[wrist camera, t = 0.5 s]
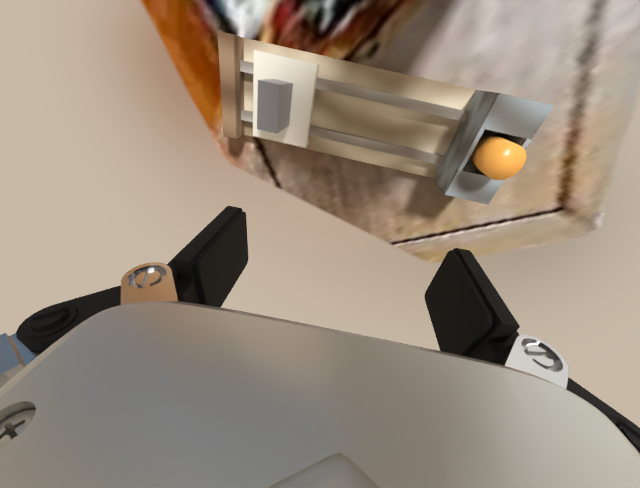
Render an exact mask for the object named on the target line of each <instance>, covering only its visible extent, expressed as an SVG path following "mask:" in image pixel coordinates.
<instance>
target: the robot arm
mask: <svg viewBox="0 0 640 488" xmlns="http://www.w3.org/2000/svg"><path fill="white" fill-rule="evenodd" d="M247 262H248V245H247V226H246V213H245V212H242V209H241V208H237V207H232V206H227V207H226V208H225V209H224V210H223V211H222V212H221V213H220V214H219V215H218V216H217V217H216V218H215V219H214V220H213V221H212V222H211V223H210V224H208V225H207V226H206V227H205V228H204V229H203V230H202V231H201V232H200V233H199V234H198V235H197V236H196V237H195V238H194V239H193V240H192V241H191V242H190V243H189V244H188V245H187V246H186V247H185V248H183V249H182V250H181V251H180V252H179V253H178V254H177V255H176V256H175V257H174V258H173V259H172V260H171V261H170V262H169V263H168V264H167V265H166V264H163V263H155V262H154V263H146V264H143V265H140V266H137V267H135V268H133V269H131V270H130V271H128V272H127V273H126V274H125V275H124V276H123V278H122V281H121V286H117V287H114V288H110V289H107V290H104V291H100V292H96V293H93V294H90V295H86V296H83V297H79V298H76V299H73V300H69V301H66V302H62V303H59V304H55V305H52V306H49V307H47V308H44V309H42V310H40V311H38V312H36V313H34V314H33V315H31V316H30V317H29V318H27V319H26V320H25V321H24V322H23V323H22V324H21V325H20V326H19V328H18V330H17V332H16V333H15V334H13V335H11V336H8V335H7V334H6V333H4V334H2V335H0V488H640V428H639V427H638V426H637V425H635V424H634V423H632V422H631V421H630V420H628V419H627V418H625V417H624V416H622V415H621V414H620V413H618V412H617V411H616V410H614V409H613V408H611V407H610V406H608V405H607V404H606V403H604V402H603V401H601V400H600V399H598V398H597V397H596V396H594V395H593V394H591V393H590V392H589V391H587V390H586V389H584V388H583V387H581V386H580V385H579V384H577V383H576V382H574V381H573V380H571V379H570V378H569V377H568V376H569V367H568V365H567V363H566V361H565V359H564V358H563V357H562V356H561V354H560V353H559V352H558V351H557V350H555V349H554V348H553V347H552V346H551V345H549V344H548V343H546V342H545V341H543V340H541V339H539V338H537V337H534V336H531V335H526V334H523V335H519V334H518V332H517V331H516V330H517V329H518V328H519V327H520V326H519V325H518V323H517V321H516V320H515V319H514V317H513V315H512V314H511V312H510V311H509V309H508V308H507V306H506V305H505V303H504V302H503V300H502V299H501V297H500V296H499V294H498V292H497V291H496V289H495V288H494V286H493V285H492V283H491V282H490V280H489V279H488V277H487V276H486V274H485V273H484V271H483V269H482V268H481V266H480V265H479V263H478V262H477V260H476V259H475V257H474V256H473V254H472V253H471V252H470V251H469V250H464V249H458V248H455V249H453V250H452V251H449V252H448V253H447V255H446V257H445V258H444V260H443V262H442V264H441V266H440V267H439V269H438V271H437V273H436V275H435V276H434V278H433V280H432V282H431V284H430V285H429V287H428V289H427V290H426V293H425V301H426V305H427V308H428V311H429V314H430V318H431V321H432V324H433V327H434V331H435V334H436V338H437V341H438V344H439V347H440V350H441V351H437V350H432V349H427V348H423V347H418V346H413V345H408V344H403V343H398V342H393V341H389V340H383V339H379V338H373V337H369V336H363V335H359V334H353V333H349V332H344V331H339V330H334V329H329V328H323V327H319V326H314V325H308V324H304V323H299V322H293V321H288V320H283V319H278V318H273V317H267V316H262V315H257V314H252V313H247V312H242V311H236V310H230V309H225V308H220V307H221V306H222V304H223V302H224V301H225V299H226V297H227V296H228V294H229V293H230V291H231V289H232V288H233V286H234V284H235V282H236V281H237V279H238V278H239V276H240V274H241V273H242V271H243V270H244V268H245V266H246V264H247Z"/></svg>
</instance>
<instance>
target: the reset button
mask: <svg viewBox="0 0 640 488" xmlns="http://www.w3.org/2000/svg"><path fill="white" fill-rule="evenodd" d="M469 160H470V162H471V163H472V164H473V165H474V166H475V167H477V168H478V169H479V170H480V171H481V172H483V173H484V174H485V175H486V176H488V177H489V178H491V179H493V180H504V179H507V178H510V177H512V176H513V175H515V174H516V173H517V172H518V171H519V170H520V169H521V168H522V167H523V165H524V163H525V161H526V151H525V149H524V148H523V147H522V146H520V145H518V144H515V143H513V142H511V141H509V140H506V139H504V138H502V137H500V136H497V135H486V136H484V137H482V138H480V139H479V141H478V143H477V145H476V146H475V148H474V150H473V152H472V154H471V156H470V157H469Z"/></svg>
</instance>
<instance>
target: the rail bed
mask: <svg viewBox="0 0 640 488" xmlns="http://www.w3.org/2000/svg"><path fill="white" fill-rule="evenodd" d="M218 47H219V64H220V82H221V99H222V116H223V133H224V136H226V137H230V138H234V139H238V138H240V137H241V136H243V135H247V136H251V137H256V136H253V71H254V50H257V51H262V52H266V53H270V54H275V55H279V56H284V57H288V58H293V59H297V60H301V61H306V62H310V63H315V64H319V65H320V68H319V70H318V74H317V81H316V88H315V95H314V102H313V109H312V117H311V124H310V131H309V138H308V140H309V144H308V145H307V147H306V148H305V147H300V146H296V145H291V144H287V143H283V142H278V141H274V140H270V139H265V138H261V137H256V138H260V139H264V140H269V141H273V142H278V143H282V144H286V145H291V146H295V147H299V148H304V149H308V150H313V151H317V152H321V153H326V154H330V155H334V156H339V157H343V158H348V159H352V160H356V161H361V162H365V163H369V164H374V165H378V166H383V167H387V168H391V169H396V170H400V171H404V172H409V173H413V174H418V175H422V176H426V177H431V178H434V180H435V181H436V182H437V184H438V185H439V187H440V188H441V190H442V191H443V192H444V194H445V195H448V196H453V197H457V198H462V199H466V200H470V201H475V202H479V203H483V204H489V202H490V201H491V199H492V198H493V196H494V195H495V193H496V192H497V190H498V189H499V187H500V186H501V184H502V183H503V181H504V180H505V179H504V180H493V179H491V178H489V177H488V176H486V175H485V174H484V173H483V172H481V171H480V170H479V169H478V168H477V167H475V166H474V165H473V164H472V163H471V162H470V160H469V157H470V156H471V154H472V152H473V150H474V148H475V146H476V145H477V143H478V141H479V139H480V138H482V137H484V136H486V135H497V136H500V137H502V138H504V139H506V140H509V141H511V142H513V143H515V144H518V145H520V146H522V147H523V148H524V149H525V148H526V147H527V146H528V144H529V143H530V141H531V140H532V138H533V137H534V135H535V134H536V132H537V131H538V129H539V128H540V126H541V125H542V123H543V122H544V120H545V119H546V117H547V116H548V114H549V113H550V111H551V110H552V108H553V107H554V105H550V104H545V103H541V102H536V101H532V100H527V99H523V98H518V97H514V96H510V95H505V94H501V93H494V92H486V91H479V90H473V89H469V88H464V87H460V86H456V85H451V84H447V83H442V82H438V81H433V80H429V79H424V78H420V77H416V76H411V75H407V74H402V73H398V72H393V71H389V70H384V69H380V68H376V67H371V66H367V65H362V64H358V63H353V62H349V61H344V60H340V59H336V58H331V57H327V56H322V55H318V54H313V53H309V52H304V51H300V50H296V49H291V48H287V47H282V46H278V45H273V44H269V43H265V42H260V41H256V40H251V39H247V38H243V37H239V36H236V35H233V34H229V33H224V32H220V31H218Z"/></svg>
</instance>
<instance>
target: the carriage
mask: <svg viewBox="0 0 640 488" xmlns="http://www.w3.org/2000/svg"><path fill="white" fill-rule="evenodd" d="M319 68H320V65H319V64H315V63H310V62H306V61H301V60H297V59H293V58H288V57H284V56H279V55H275V54H270V53H266V52H262V51H257V50H254V71H253V136H256V137H261V138H265V139H270V140H274V141H278V142H283V143H287V144H291V145H296V146H300V147H305V148H306V147H307V145H308V144H309V140H308V138H309V131H310V124H311V117H312V109H313V102H314V95H315V88H316V81H317V74H318V70H319Z"/></svg>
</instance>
